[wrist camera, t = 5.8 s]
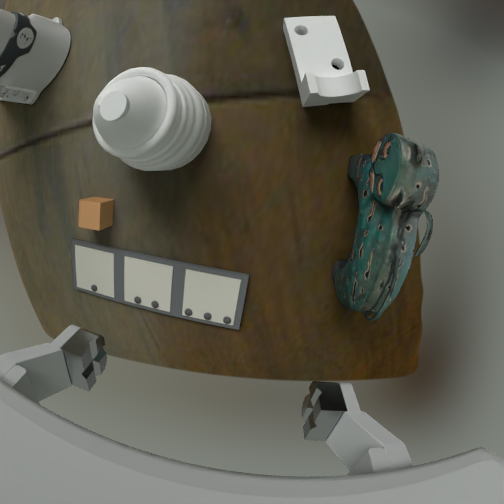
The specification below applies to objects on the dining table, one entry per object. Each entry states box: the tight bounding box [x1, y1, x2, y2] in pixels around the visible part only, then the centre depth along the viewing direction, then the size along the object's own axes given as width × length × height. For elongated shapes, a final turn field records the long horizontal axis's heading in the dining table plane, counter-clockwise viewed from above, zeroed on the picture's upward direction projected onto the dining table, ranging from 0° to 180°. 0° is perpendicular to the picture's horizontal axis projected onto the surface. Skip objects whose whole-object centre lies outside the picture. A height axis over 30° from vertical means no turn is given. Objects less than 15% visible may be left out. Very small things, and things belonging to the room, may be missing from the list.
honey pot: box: [93, 67, 211, 171], centre depth 26 cm, size 13×13×18 cm
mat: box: [71, 239, 249, 330], centre depth 41 cm, size 30×9×1 cm, turn 80°
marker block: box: [79, 197, 114, 231], centre depth 37 cm, size 4×4×4 cm
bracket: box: [283, 16, 370, 107], centre depth 28 cm, size 13×7×8 cm, turn 10°
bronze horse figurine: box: [332, 133, 439, 321], centre depth 28 cm, size 20×6×20 cm, turn 173°
